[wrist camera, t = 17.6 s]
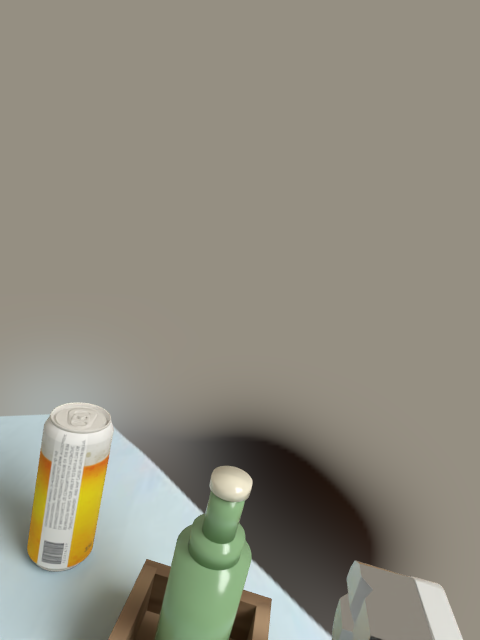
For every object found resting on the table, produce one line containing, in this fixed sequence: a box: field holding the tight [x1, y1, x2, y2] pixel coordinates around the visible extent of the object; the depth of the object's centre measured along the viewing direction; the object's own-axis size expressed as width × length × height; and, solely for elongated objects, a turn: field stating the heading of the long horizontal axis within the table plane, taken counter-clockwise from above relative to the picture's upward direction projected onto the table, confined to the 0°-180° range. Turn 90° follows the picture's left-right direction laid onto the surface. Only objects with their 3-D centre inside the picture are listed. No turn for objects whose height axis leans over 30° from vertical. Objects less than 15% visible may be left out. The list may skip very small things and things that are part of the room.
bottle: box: [154, 466, 252, 640], centre depth 32 cm, size 5×5×18 cm
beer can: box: [27, 403, 114, 571], centre depth 43 cm, size 6×6×15 cm
